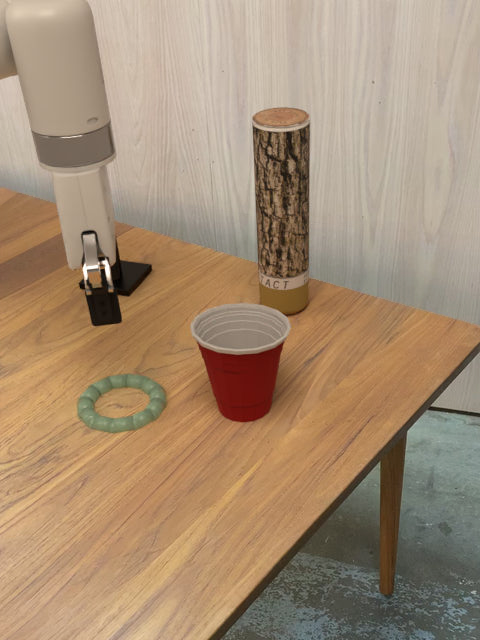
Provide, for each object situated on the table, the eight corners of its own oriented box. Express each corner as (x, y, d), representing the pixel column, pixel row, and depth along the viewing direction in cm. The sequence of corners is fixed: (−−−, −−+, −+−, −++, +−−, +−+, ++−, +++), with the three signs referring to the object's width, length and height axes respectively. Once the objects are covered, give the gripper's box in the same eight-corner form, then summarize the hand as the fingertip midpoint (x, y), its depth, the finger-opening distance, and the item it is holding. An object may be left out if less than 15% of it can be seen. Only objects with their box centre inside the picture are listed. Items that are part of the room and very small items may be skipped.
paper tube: (283, 286, 112) (280, 103, 95) (318, 303, 108) (322, 115, 91) (249, 305, 109) (240, 118, 92) (284, 322, 105) (281, 131, 88)
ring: (62, 429, 90) (58, 415, 89) (104, 378, 97) (101, 364, 96) (144, 446, 87) (141, 432, 86) (181, 392, 94) (179, 378, 93)
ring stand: (79, 289, 113) (63, 216, 106) (105, 263, 119) (91, 193, 111) (129, 296, 111) (116, 223, 104) (152, 270, 117) (142, 199, 109)
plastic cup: (306, 395, 93) (306, 307, 85) (268, 450, 86) (265, 360, 78) (225, 375, 97) (218, 289, 88) (183, 426, 90) (171, 337, 81)
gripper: (40, 117, 81) (74, 268, 93) (30, 182, 68) (71, 347, 80) (112, 110, 82) (137, 261, 93) (115, 173, 69) (144, 338, 81)
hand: (107, 300), depth 87 cm, fingers open, 9 cm apart
